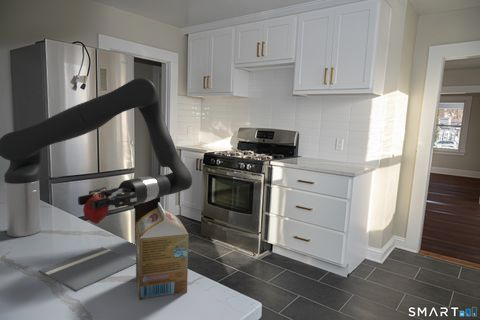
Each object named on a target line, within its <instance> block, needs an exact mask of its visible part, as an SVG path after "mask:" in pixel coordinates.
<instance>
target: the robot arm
mask: <svg viewBox="0 0 480 320" xmlns="http://www.w3.org/2000/svg"><path fill="white" fill-rule="evenodd" d="M161 107H162V106H161V103H160V97H159V91H158V89H157V86H155V84H154V83H153V81H151V80H150V79H148V78H145V77H138V78H134V79H132V80H130V81H128V82H126V83H124V84H123V85H121V86H119V87H117V88H115V89H114V90H112V91H110V92H107V93H105V94H102V95H99V96H97V97H94V98H92V99H90V100H89V99H88V100H87V101H83V102H80V103H79V104H76V105H73V106H72V107H69V108H67V109H65V110H63V111H60V112H58V113H56V114H54V115H52V116H51V117H48V118H45V120H43V121H41V122H39V123H36V124H33V125H31V126H27V127H24V128H22V129H18V130H14V131H10V132H7V133H5V134H3V135H2V136H1V137H0V157H1V158H3V159H4V160H6V161H9V167H8V169H7V170H6V171H5V173H4V192H5V213H6V214H5V215H6V233H7V234H6V235H7V236H9V237H14V238H15V237H16V238H18V237H27V236H31V235H35V234H37V233H39V232H41V230H42V227H41V226H42V224H41V223H42V222H41V221H42V220H41V199H40V198H41V196H40V191H41V190H40V174H41V169H42V150H43V149H44V148H46V147H49V146H50V145H54V144H58V143H61V142H65V141H68V140H69V141H70V140H72V139H76V138H78V137H80V136H84V135H86V134H89V133H91V132H93V131H95V130H97V129H99V128H101V127H103V126H104V125H105V124H107V123H108V122H109V121H111V120H112V119H114V118H115V117H116V116H118V115H120V114H122V113H124V112H126V111H127V112H128V111H130V110H133V109H135V108H138V111H139V112H140V114H141V115H142V118H143V120H144V122H145V125H146V128H147V131H148V134H149V139H150V143H151V147H152V149H153V153H154V154H155V157H156V160H157V162H158V165H159V166H160V167H161V168H169V170H170V171H171V172H170V173H167V174H158V175H157V174H156V175H152V176H151V175H150V176H141V177H136V178H135V177H134V178H131V179H125V180H123V181H121V182H120V184H119V186H118V187H116V186H115V187H111V188H107V187H101V188H97V189H93V190H89V191H88V194H85V195H80V196H78V197H77V204H78V205H79V206H84V205H85V203H86V202H87V201H88V200H89V199H90V198H92V197H93V195H94V194H95V193H98V194H99V195H98V196H99V197H100V198H102V199H97V200H94V201H93V209H100V208H103V207H107V206H108V208H112V207H114V208H123V207H134V206H137V205H140V204H144V203H147V202H150V201H152V200H156V199H159V198H162V197H165V196H170V195H173V194H177V193H180V192H184V191H186V190H188V189H190V188H191V187H192V184H193V177H192V173H191V172H190V170H189V169H188V167H187V166H186V164H185V163H184V162H183V160H182V159H181V158H180V156H179V153H178V150H177V148H176V145H175V143H174V140H173V139H172V136H171V133H170V132H169V128H168V126H167V124H166V121H165V118H164V115H163V112H162V108H161Z"/></svg>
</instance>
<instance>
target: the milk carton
mask: <svg viewBox="0 0 480 320" xmlns="http://www.w3.org/2000/svg"><path fill="white" fill-rule="evenodd" d="M135 224H136V225H135V234H136V235H135V260H136V264H135V280H136V287H137V295H138V300H139V301H143V300H144V301H145V300H149V299H155V298H160V297H167V296H173V295H179V294H185V293H188V271H189V268H188V267H189V265H188V264H189V237H190V236H189V235H190V234H189V233H188V231H187V229H186V227H185V226H184V224H183V222H182V221H181V219H180V218H178V217H177V215H175V214H173V213H171V212H169V211H168V210H166V209H164V208H163V205H161V202H160V201H159V202H157V207H156V208H154V209H153V210H151V211H149V212H148V213H146V214H145V215H143V216H141V218H140V219H138V220H137V221H136V223H135Z"/></svg>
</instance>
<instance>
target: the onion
mask: <svg viewBox="0 0 480 320" xmlns="http://www.w3.org/2000/svg"><path fill="white" fill-rule="evenodd" d="M98 195H99V194H98V193H95V194H94V195H93V197H92V198H90V199H89V200H88V201H87V202H86V203H85V205H83V208H82V210H83V216H84V217H85V219H86V220H87V221H89V222H91V223H93V224H94V225H97V224H99V223H101V221H103V220H104V219H105V218H106V217H107V216H108V213H109V207H108V206H107V207H103V208H100V209H93V201H94V200H97V199H102V198H100V197H99V196H98Z"/></svg>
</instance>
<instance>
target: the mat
mask: <svg viewBox="0 0 480 320" xmlns="http://www.w3.org/2000/svg"><path fill="white" fill-rule="evenodd" d="M134 265H135V266H136V258H132V257H129V256H127V255H125V254H121V253H119V252H116V251H115V250H112V249H110V248H105V247H103V246H102V247H99V248H96V249H93V250H90V251H87V252H85V253H82V254H80V255H77V256H74V257H71V258H68V259H66V260H65V259H64V260H63V261H60V262H58V263H54V264H52V265H49V266H47V267H44V268H40V269H39V270H38V271H39V272H40V273H42V274H43V275H46V276H47V277H49V278H51V279H53V280H55V281H56V282H58V283H61V284H62V285H64V286H66V287H67V288H70V289H71V290H74V291H75V292H78V291H80V290H83V289H84V288H86V287H87V288H88V286H89V287H90V286H91V285H93V284H96V283H98V282H99V281H102V280H104V279H106V278H109V277H111V276H113V275H115V274H118V273H119V272H121V271H123V270H126V269H128V268H130V267H132V266H134Z"/></svg>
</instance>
